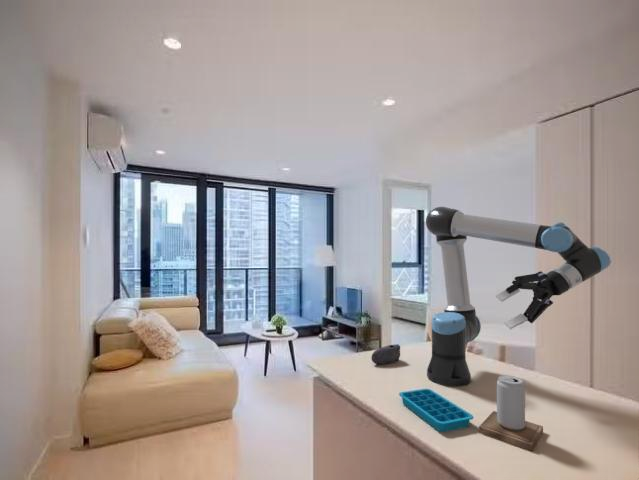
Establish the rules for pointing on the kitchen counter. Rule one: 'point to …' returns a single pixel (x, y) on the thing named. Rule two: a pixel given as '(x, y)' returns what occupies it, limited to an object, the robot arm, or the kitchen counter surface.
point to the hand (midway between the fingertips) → (503, 312)
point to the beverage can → (511, 402)
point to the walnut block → (512, 432)
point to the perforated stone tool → (386, 354)
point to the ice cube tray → (436, 409)
